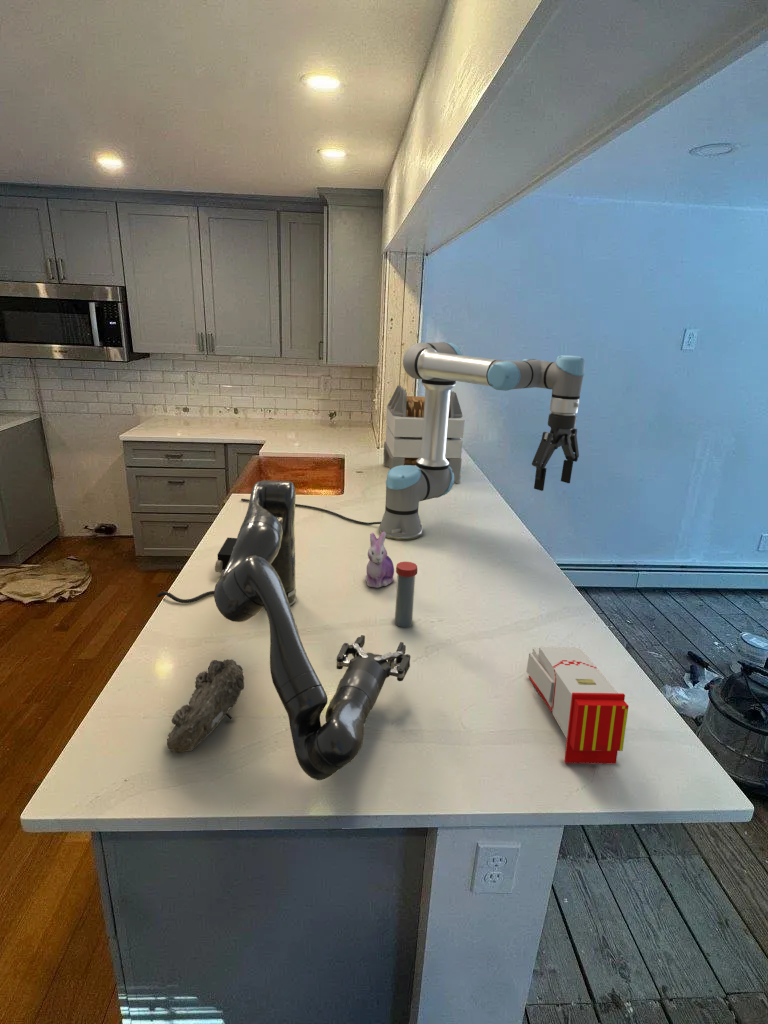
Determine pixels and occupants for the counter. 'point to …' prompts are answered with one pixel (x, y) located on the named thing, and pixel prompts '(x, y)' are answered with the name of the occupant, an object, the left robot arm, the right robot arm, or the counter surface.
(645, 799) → the counter surface
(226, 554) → the figurine character
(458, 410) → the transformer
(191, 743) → the fossil
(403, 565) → the lid
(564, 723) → the toy
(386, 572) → the figurine
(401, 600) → the jar
